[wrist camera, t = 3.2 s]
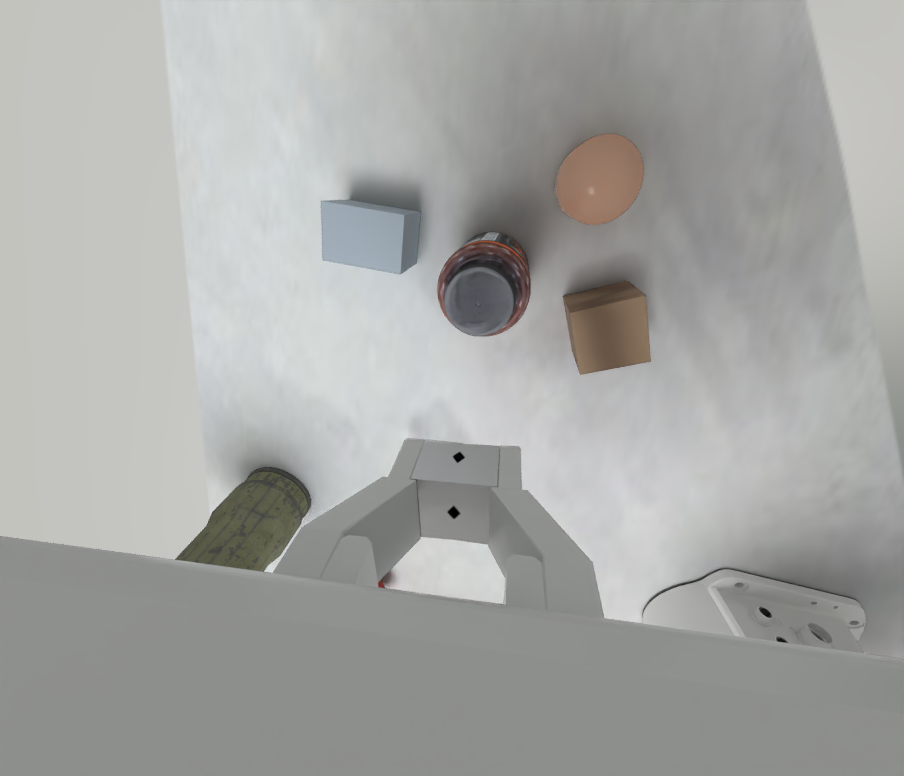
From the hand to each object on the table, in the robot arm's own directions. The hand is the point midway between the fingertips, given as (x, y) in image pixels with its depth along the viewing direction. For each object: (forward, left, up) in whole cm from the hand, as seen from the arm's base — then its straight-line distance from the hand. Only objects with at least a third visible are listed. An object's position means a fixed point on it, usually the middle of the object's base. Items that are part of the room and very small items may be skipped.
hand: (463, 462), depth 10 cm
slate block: (+10, -4, -24) cm, 26 cm away
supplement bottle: (+1, -1, -24) cm, 24 cm away
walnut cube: (-8, +3, -24) cm, 26 cm away
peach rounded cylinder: (-6, -7, -24) cm, 26 cm away
